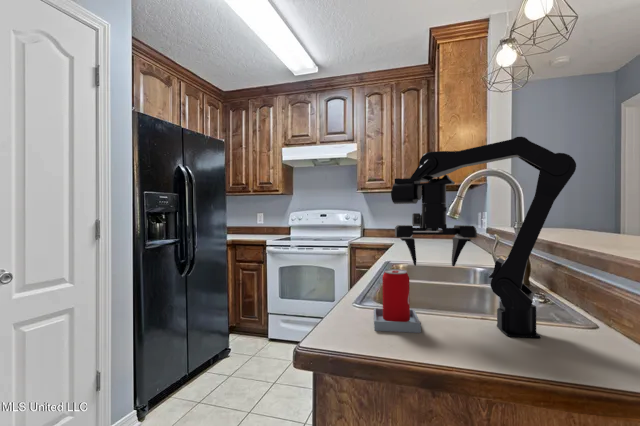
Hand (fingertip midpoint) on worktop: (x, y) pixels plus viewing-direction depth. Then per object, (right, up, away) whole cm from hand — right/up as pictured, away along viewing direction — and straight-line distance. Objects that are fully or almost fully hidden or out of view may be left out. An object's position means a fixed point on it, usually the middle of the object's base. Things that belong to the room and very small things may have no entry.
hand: (433, 265), depth 82 cm
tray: (-11, -13, -4) cm, 17 cm away
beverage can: (-11, -13, -5) cm, 17 cm away
